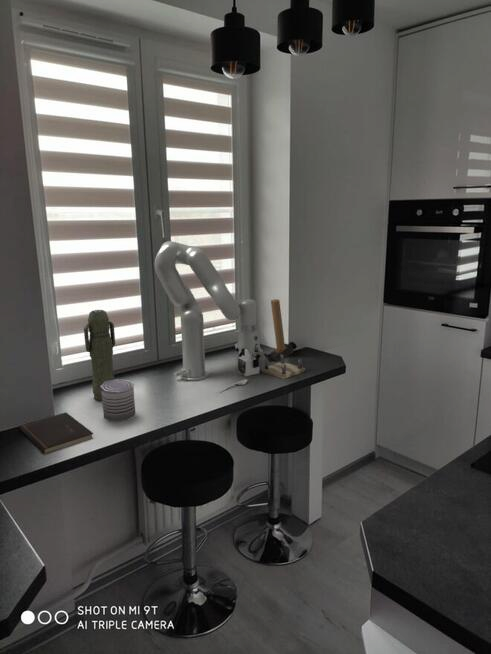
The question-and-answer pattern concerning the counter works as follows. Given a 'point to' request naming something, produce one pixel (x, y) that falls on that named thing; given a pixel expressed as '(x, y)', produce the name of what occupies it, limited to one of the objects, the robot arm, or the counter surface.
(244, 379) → the spoon
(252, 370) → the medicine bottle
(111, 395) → the can
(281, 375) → the peg stand
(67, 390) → the counter surface
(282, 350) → the hammer
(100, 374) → the dark green tall piece
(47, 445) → the hardcover book
